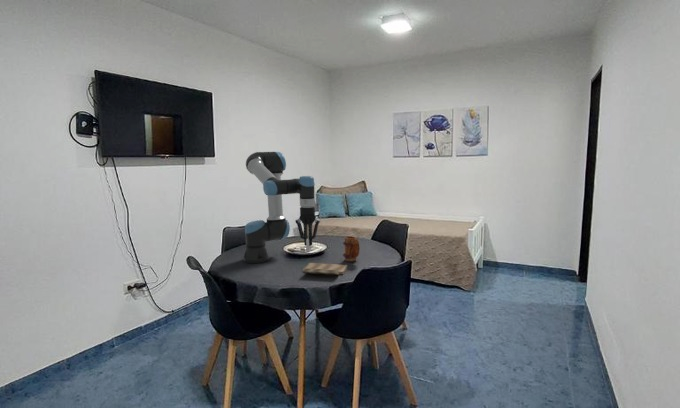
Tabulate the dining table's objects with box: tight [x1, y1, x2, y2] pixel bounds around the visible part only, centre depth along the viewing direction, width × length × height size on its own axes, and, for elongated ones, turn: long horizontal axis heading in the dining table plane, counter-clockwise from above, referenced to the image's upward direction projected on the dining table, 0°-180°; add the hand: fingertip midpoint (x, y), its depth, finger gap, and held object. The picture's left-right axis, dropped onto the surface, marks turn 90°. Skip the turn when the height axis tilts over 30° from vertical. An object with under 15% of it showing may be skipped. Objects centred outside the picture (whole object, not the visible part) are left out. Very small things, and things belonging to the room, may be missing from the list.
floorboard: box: [304, 262, 348, 275], centre depth 206 cm, size 22×12×2 cm, turn 78°
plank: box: [302, 267, 339, 276], centre depth 196 cm, size 18×8×2 cm, turn 78°
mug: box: [342, 235, 360, 262], centre depth 219 cm, size 15×8×15 cm, turn 23°
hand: (308, 251), depth 193 cm, fingers closed
